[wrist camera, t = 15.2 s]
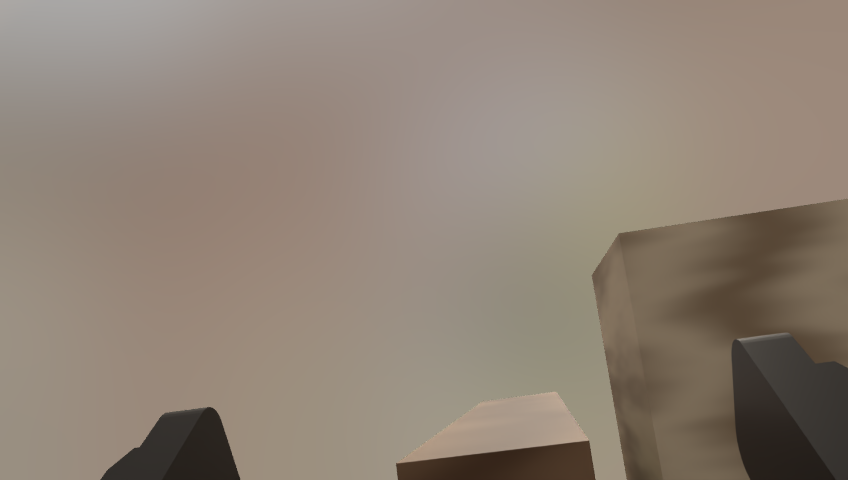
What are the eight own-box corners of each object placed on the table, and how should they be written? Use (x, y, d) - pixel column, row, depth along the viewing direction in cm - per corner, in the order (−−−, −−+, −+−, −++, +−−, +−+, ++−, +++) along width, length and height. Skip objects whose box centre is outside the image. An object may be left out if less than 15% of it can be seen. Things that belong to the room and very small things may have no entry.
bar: (420, 669, 15) (396, 463, 16) (493, 477, 40) (482, 401, 41) (623, 652, 15) (589, 440, 15) (568, 468, 40) (556, 391, 41)
